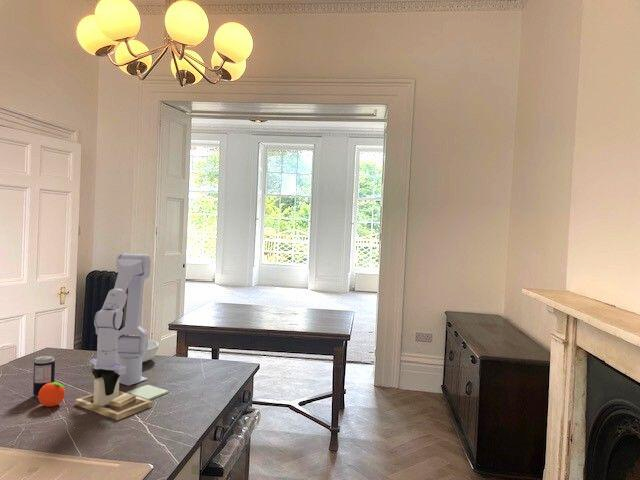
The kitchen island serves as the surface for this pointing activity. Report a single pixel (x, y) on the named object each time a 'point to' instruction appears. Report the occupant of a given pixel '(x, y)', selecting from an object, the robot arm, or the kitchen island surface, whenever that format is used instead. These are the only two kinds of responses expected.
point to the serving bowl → (150, 350)
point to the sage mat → (148, 392)
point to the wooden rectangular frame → (87, 404)
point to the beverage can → (43, 372)
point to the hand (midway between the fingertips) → (106, 393)
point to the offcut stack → (123, 402)
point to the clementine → (51, 394)
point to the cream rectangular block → (103, 392)
